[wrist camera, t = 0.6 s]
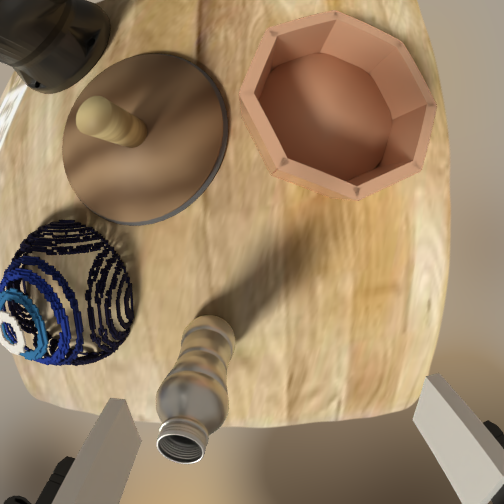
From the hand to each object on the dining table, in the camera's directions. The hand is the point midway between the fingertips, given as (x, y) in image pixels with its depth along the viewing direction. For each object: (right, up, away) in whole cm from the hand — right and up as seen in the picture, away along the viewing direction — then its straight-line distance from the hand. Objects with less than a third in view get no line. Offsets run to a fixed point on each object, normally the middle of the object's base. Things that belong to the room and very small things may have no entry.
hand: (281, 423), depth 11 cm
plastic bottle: (-6, -3, +26) cm, 27 cm away
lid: (-15, +21, +21) cm, 33 cm away
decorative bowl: (-26, +2, +26) cm, 37 cm away
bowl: (+7, +23, +21) cm, 32 cm away
